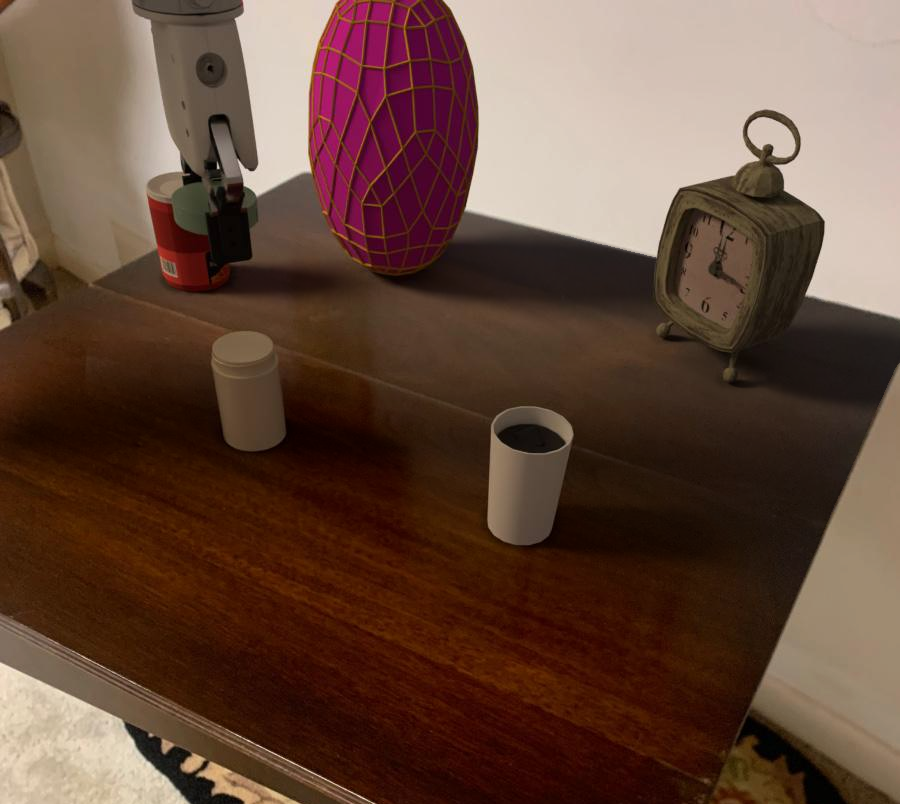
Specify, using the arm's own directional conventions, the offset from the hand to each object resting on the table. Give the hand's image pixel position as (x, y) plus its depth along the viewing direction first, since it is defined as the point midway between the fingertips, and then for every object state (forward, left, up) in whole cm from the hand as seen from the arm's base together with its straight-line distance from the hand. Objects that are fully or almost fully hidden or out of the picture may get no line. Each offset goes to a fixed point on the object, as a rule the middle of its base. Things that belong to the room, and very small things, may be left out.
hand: (220, 239), depth 73 cm
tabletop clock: (+48, +21, -19) cm, 56 cm away
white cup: (+27, -11, -19) cm, 35 cm away
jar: (+1, -1, -18) cm, 18 cm away
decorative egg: (+10, +36, -19) cm, 42 cm away
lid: (0, 0, +3) cm, 3 cm away
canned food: (-13, +29, -19) cm, 37 cm away
